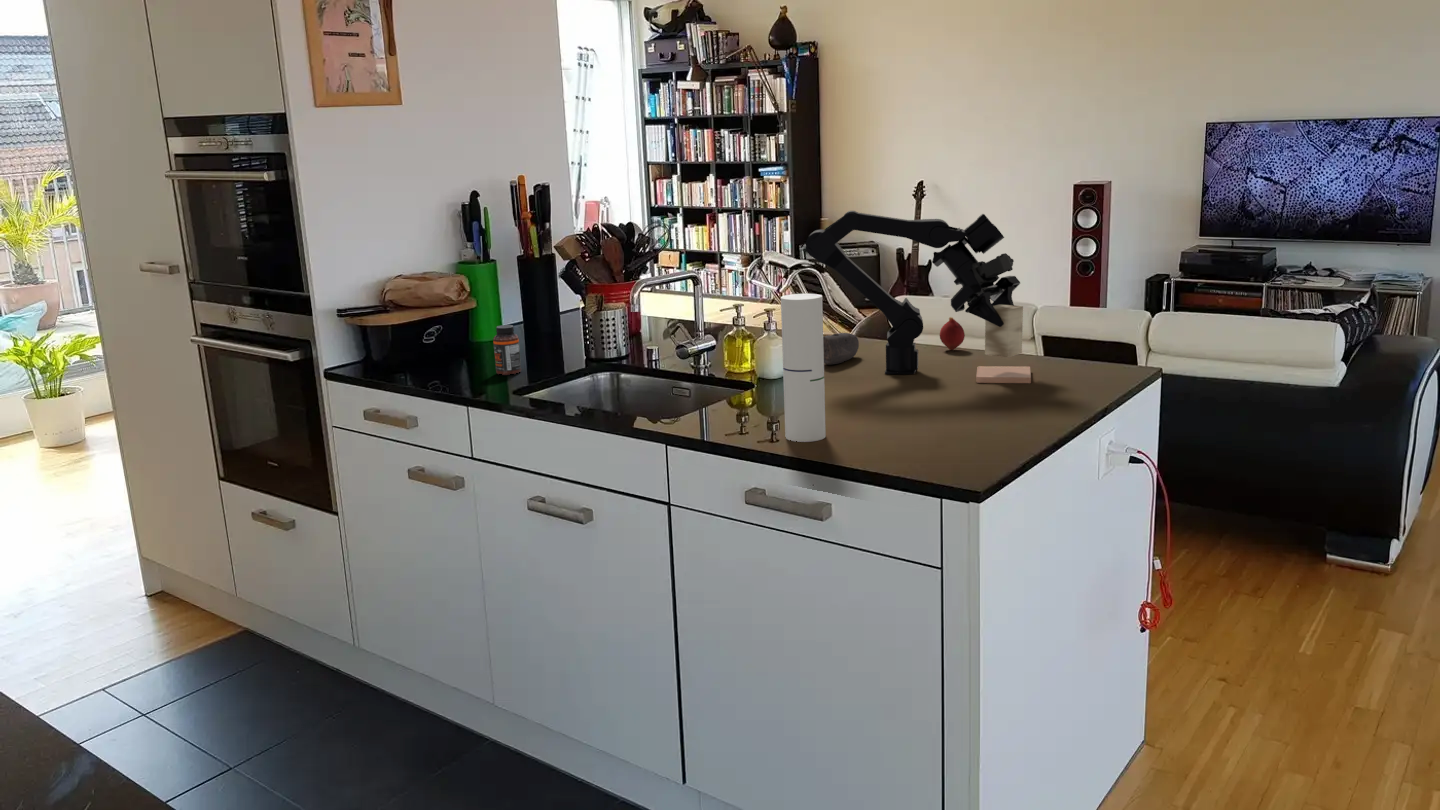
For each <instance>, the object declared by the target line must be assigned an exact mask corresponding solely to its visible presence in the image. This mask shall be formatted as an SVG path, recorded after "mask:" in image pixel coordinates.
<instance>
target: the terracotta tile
mask: <svg viewBox="0 0 1440 810" xmlns="http://www.w3.org/2000/svg"><path fill="white" fill-rule="evenodd" d="M975 383H977V384H1031V383H1032V375H1031V366H1025V365H1023V366H1018V365H1017V366H1011V365H1009V366H1007V365H1006V366H1004V365H1003V366H1001V365H997V366H995V365H993V366H987V365H986V366H985V365H984V366H981V365H979V366H977V369H976V378H975Z"/></svg>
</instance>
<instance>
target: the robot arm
mask: <svg viewBox="0 0 1440 810" xmlns="http://www.w3.org/2000/svg"><path fill="white" fill-rule="evenodd" d="M853 231H860V232H865V233H870V234H871V233H873V234H879V235H883V236H884V235H886V236H893V237H896V238H897V237H898V238H905V239H908V240H910V241H914V242H916V243H919V244H922V245H925V246H928V247H931V248H933V249H942V248H944V249H942V250H941V251H933V253H932V254H933V258H932V260H931V261H932V264H933V265H934V266H935V267H937V268H938V267H939V266H941V265H942V264H943V263H944V265H945V266H946V267H947V269H948V270H949V271H950V272H951V273H952V275H953V276H954V278H955V279H954V281H953V282H954V284H955V285H956V286H958V285H961V288H960V289H958V291H957V292H956V293H955V294H954V295H953V296H952V297H951V298H950V306H951V308H952V310H954V312H955V313H957V312H963V311H964V310H965V311H964V312H965V313H969V314H972V315H974V316H976V317H978V318H980V319H983V320H984V321H985V320H986V321H989V322H991V323H993V324H995V325H997V326H999V327H1002V326H1003V325H1004V323H1003V321H1002V319H1001V317H1000V316H999V314H998V313H997V311H996V310H995V308H994V307H993V306H995V305H999V304H1004V305H1014V301H1013V297H1012V296H1013V292H1014V291H1015V290H1016V289H1017V288H1018V287H1019V286H1020V284H1021V281H1020V280H1019V279H1018V277H1017V276H1016V275H1006V276H1002V277H1001V278H1000V277H999V276H1000V275H1002V274H1005V273H1006V272H1011V271H1013V269H1014V268H1013V265H1014V262H1015V261H1014V259H1013V258H1012V257H1011V256H1010V255H1009V254H1007V253H1001V254H1000V255H998V256H996V257H995V258H993V259H991V260H989V261H987V262H986V261H978V259H976V257H975V255H974V254H973V253H972V252H971V251H970V250H969V248H968V247H967V244H968V246H969V247H970V248H971V249H972V251H973V252H974V253H975V254H978V253H979V254H980V253H981V254H983V255H984V254H986V253H987V252H988V251H989V250H990V249H992V248H993V247H994V246H996V245H997V244H998V243H999V242H1001V241H1002V240H1003V239H1004V238H1005V236H1004V235H1003V234H1002V232H1001V231H1000V229H998V227H997V226H996V225H995V224H994V223H992V222H991V220H990V219H989V218H988V217H987V216H986V214H985V213H981V214H980V215H979V216H978V217H977V219H975V220H974V221H973V222H972V223H971V224H970V225H968V226H967V227H966V228H965V229H963V228H961V227H956V226H955V227H953V226H949V224H948V222H947V221H945V220H943V219H941V218H922V219H904V218H898V217H897V218H896V217H891V216H890V217H889V216H884V215H876V214H870V213H865V212H859V211H856V210H849V211H847V212H845V213H844V215H842V216H841V217H840V218H839V219H837V220H835V221H834V222H833V223H832V224H830V225H828V226H827V227H826V228H824V229H816V230H814V231H813V232H811V233H810V234H809V235H808V237H807V239H806V241H805V249H806V250H805V251H806V252H807V254H808V255H809V257H811V258H813V259H814V260H816V261H818V262H819V263H821V264H823V265H824V266H827V267H828V268H830V269H832V270H834V271H835V272H837V273H838V274H839V275H840V276H841V277H843V278H844V279H845V281H847V282H848V283H849V284H850V285H851V286H853V288H855V289H856V290H857V291H858V292H860V294H861V295H863V296H864V297H865V298H866V300H868V301H869V302H870V303H871V304H873V305H874V306H875V307H876V308H877V309H878V310H879V311H880V312H881V313H883V315H884V316H885V318H886V320H888V323H890V325H891V326H892V327H891V328H889V330H888V331H887V335H886V337H887V338H886V339H887V340H886V341H887V342H886V344H885V370H884V374H885V375H914V374H916V371H917V370H918V369H919V350H918V349H916V342H915V339H917V338H919V337H920V336H921V334H922V333H923V330H924V321H923V317H922V315H921V311H920V308H918V307H916V306H914V305H913V304H912V303H911V301H910V300H909V299H908V298H907V297H904V300H903V301H900V300H898V299H896V298H895V297H893V296H892V295H891V294H890V292H888V291H886V290H885V289H884V288H883V287H882V286H881V285H880V284H879V283H878V282H876V281H875V280H874V279H873V278H872V277H871V276H869V274H867V273H866V272H865V271H864V270H863V269H862V268H861V267H859V265H857V264H856V263H855V262H854V261H853V260H852V259H850V257H848V255H846V253H845V252H844V250H843V248H842V246H841V245H840V244H839V243H838V242H840V241H841V240H842V239H843V238H845V237H847V236H848V234H851V232H853ZM949 243H954V244H949ZM945 246H946V247H945ZM995 282H996V283H995ZM991 301H992V302H991ZM966 302H967V304H966ZM965 304H966V305H967V306H968V307H967V308H966V306H965ZM965 308H966V309H965Z"/></svg>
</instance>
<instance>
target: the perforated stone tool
mask: <svg viewBox="0 0 1440 810" xmlns="http://www.w3.org/2000/svg"><path fill="white" fill-rule="evenodd" d="M859 346H860V343H859V338H858V337H857V336H856V335H855V334H852V333H849V332H840V333H833V334H830V335H828V334H827V335H826V336H825V335H823V348H824V365H829V366H830V365H839V364H841V363H844V361H845V362H847V361H849V360H851V359H852V358H854V357H855V356H856V354H857V353H858V350H859Z"/></svg>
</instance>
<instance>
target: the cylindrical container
mask: <svg viewBox="0 0 1440 810" xmlns="http://www.w3.org/2000/svg"><path fill="white" fill-rule="evenodd" d="M823 309H824V308H823V295H822V294H817V293H793V294H792V293H791V294H785V295H782V296H781V297H780V311H781V312H780V313H781V314H780V315H781V317H780V318H781V342H782V343H781V344H782V345H781V347H782V370H783V371H782V373H783V374H782V375H783V377H782V378H783V400H784V401H783V404H784V405H783V406H784V407H783V408H784V435H785V437H786V438H785V437H784V438H785V439H786V440H788V441H790V440H791V442H796V441H797V443H798V442H799V443H800V442H801V443H810V442H817V441H821V440H823V439H825V438H826V394H825V392H826V391H825V390H826V389H825V363H824V348H823V337H824V317H823V316H824V315H823V313H824V311H823Z"/></svg>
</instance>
